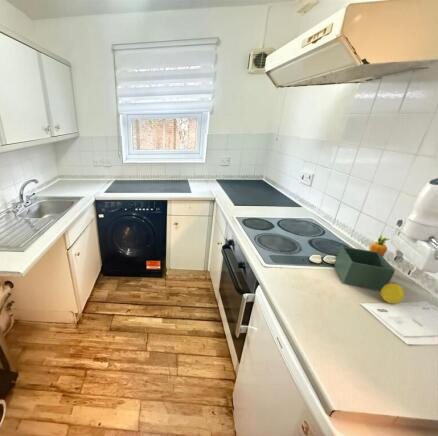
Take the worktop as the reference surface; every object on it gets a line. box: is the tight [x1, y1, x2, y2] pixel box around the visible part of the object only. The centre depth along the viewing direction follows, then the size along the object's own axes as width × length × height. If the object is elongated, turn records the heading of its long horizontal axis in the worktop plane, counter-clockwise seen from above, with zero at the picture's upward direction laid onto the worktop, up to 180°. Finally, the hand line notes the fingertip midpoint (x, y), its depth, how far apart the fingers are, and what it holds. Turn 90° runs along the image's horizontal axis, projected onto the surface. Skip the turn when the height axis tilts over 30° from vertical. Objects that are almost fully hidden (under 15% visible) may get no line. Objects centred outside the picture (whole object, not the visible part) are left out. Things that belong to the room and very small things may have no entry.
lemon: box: [380, 282, 405, 304], centre depth 82 cm, size 6×6×8 cm
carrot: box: [368, 234, 390, 257], centre depth 100 cm, size 5×5×15 cm
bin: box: [333, 246, 396, 292], centre depth 94 cm, size 13×14×10 cm
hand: (404, 268), depth 78 cm, fingers open, 8 cm apart
